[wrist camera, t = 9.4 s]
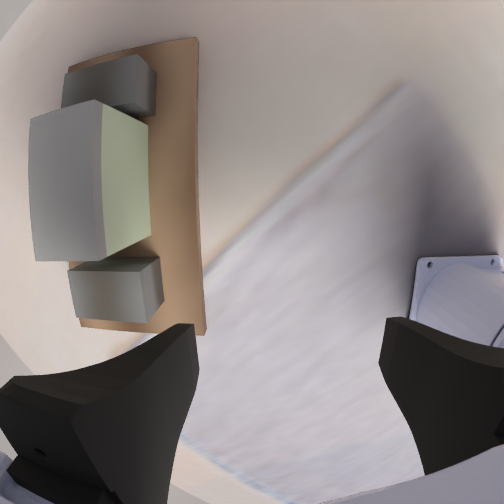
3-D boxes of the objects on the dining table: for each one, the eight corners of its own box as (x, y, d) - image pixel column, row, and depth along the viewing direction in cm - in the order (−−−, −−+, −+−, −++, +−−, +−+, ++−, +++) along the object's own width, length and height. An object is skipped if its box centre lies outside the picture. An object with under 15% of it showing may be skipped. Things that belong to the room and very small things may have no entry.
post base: (198, 43, 16) (184, 11, 12) (206, 328, 21) (194, 363, 16) (75, 70, 17) (42, 53, 12) (87, 321, 21) (57, 347, 16)
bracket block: (148, 125, 17) (94, 99, 10) (151, 235, 18) (98, 261, 12) (95, 134, 17) (30, 118, 10) (98, 237, 18) (35, 261, 12)
